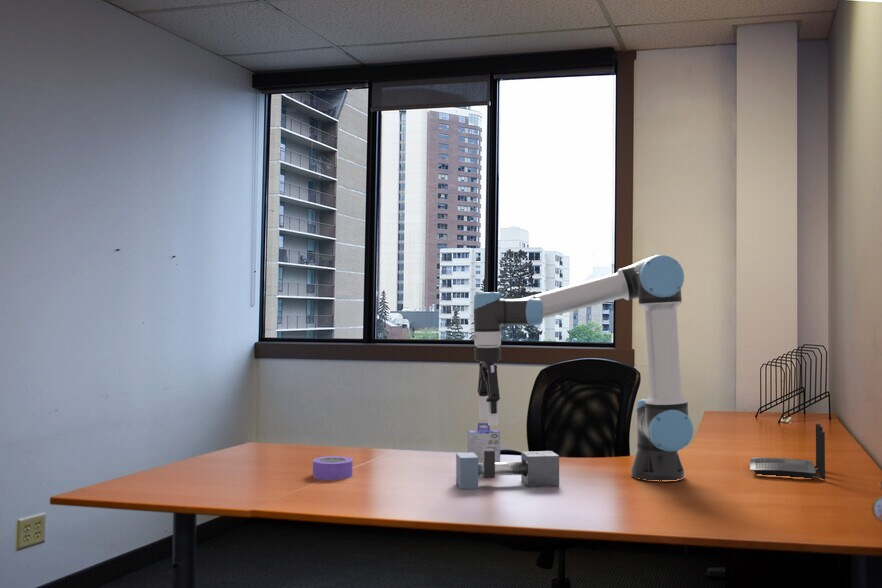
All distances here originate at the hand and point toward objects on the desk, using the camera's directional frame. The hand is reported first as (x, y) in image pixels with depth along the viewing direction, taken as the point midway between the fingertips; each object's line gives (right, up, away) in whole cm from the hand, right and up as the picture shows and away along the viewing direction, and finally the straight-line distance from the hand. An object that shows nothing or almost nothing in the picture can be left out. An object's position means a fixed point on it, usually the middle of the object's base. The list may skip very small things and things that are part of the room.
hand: (488, 422), depth 232 cm
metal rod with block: (+2, -15, 0) cm, 15 cm away
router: (+90, -19, +17) cm, 94 cm away
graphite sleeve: (+15, -18, +2) cm, 23 cm away
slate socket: (-6, -18, -1) cm, 19 cm away
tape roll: (-46, -18, +13) cm, 51 cm away
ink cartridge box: (0, -18, +20) cm, 27 cm away
